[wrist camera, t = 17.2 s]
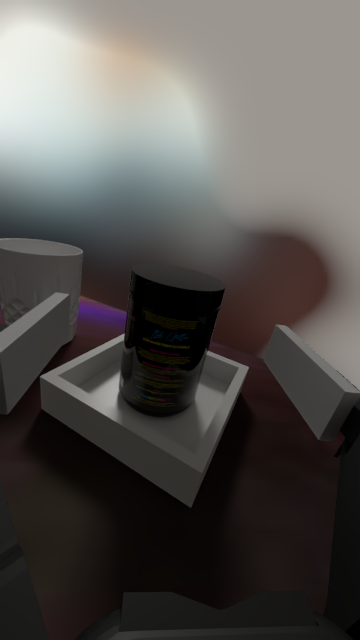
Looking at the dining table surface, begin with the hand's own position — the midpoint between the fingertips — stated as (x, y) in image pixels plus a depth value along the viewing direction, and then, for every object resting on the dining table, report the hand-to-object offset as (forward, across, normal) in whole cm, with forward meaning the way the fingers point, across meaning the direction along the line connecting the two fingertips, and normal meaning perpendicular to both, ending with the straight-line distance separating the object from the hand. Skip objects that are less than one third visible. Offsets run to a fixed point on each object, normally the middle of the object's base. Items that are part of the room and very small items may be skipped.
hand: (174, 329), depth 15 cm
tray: (+3, 0, -8) cm, 9 cm away
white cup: (+12, -13, -9) cm, 20 cm away
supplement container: (+3, 0, -8) cm, 8 cm away
